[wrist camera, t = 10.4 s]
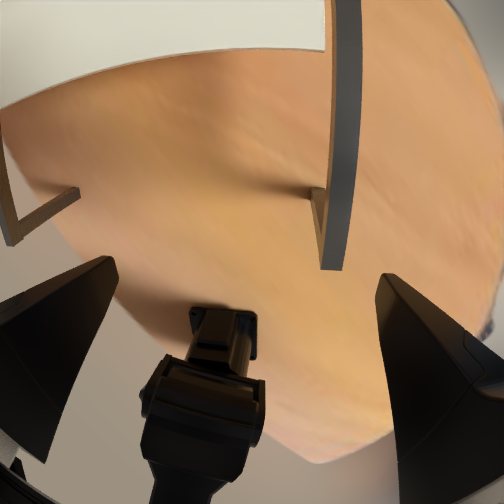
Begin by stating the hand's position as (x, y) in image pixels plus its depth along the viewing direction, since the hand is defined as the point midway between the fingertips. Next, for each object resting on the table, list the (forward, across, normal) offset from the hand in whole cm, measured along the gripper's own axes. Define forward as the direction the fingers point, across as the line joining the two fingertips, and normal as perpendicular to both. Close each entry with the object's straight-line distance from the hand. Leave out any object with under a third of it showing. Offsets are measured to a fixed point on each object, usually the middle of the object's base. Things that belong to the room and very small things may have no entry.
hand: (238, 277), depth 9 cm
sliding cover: (+5, +7, -12) cm, 15 cm away
